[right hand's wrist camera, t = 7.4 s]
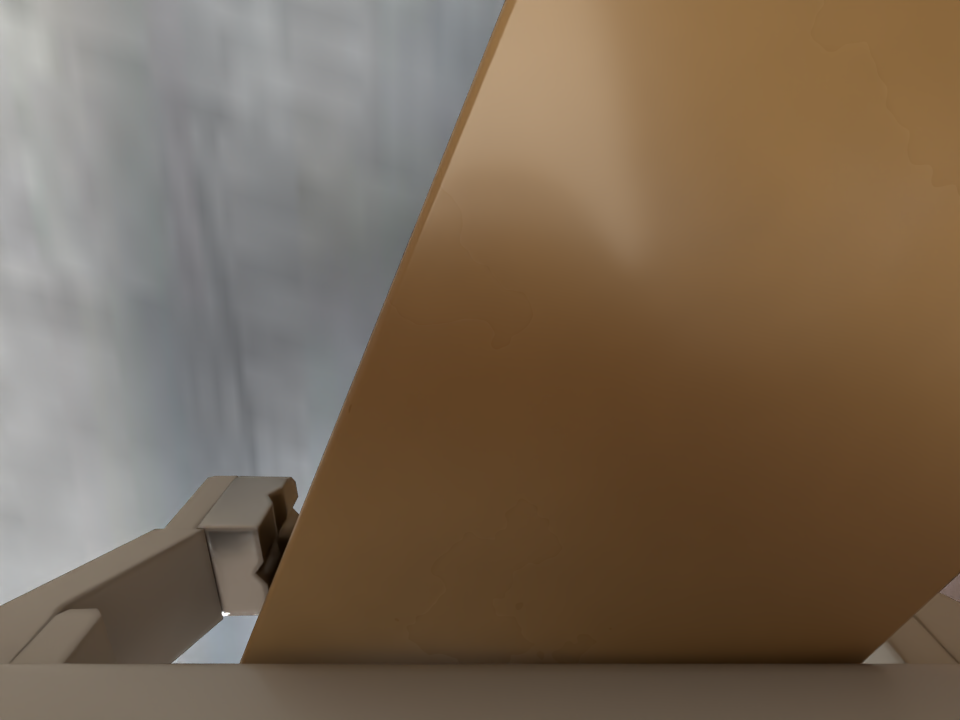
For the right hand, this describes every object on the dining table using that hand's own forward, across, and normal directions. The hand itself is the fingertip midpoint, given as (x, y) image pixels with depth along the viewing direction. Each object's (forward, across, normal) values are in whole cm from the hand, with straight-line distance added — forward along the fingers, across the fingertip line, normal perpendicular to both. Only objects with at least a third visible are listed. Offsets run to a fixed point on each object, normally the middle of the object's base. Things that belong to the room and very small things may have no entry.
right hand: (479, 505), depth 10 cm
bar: (+4, -4, -8) cm, 9 cm away
